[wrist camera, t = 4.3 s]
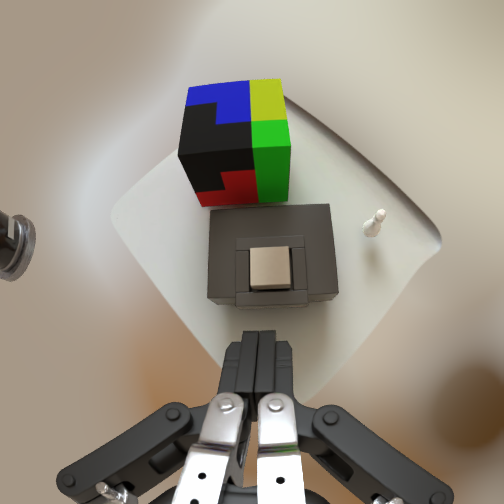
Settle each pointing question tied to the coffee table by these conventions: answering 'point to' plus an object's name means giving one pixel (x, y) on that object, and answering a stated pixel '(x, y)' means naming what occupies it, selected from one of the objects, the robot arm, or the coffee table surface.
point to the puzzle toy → (236, 142)
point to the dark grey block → (272, 235)
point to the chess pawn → (374, 224)
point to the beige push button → (269, 268)
